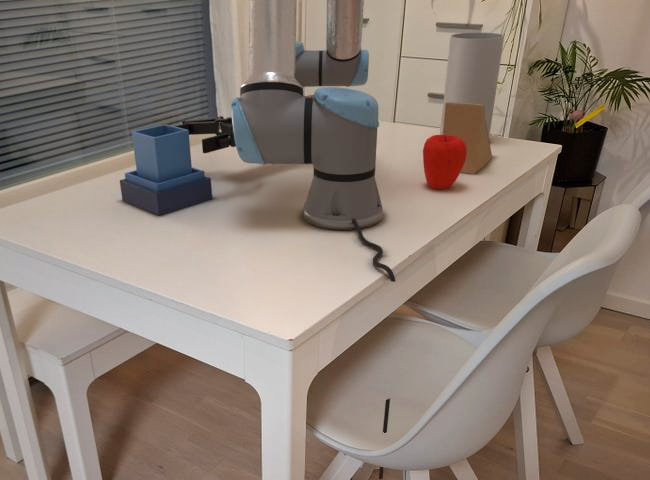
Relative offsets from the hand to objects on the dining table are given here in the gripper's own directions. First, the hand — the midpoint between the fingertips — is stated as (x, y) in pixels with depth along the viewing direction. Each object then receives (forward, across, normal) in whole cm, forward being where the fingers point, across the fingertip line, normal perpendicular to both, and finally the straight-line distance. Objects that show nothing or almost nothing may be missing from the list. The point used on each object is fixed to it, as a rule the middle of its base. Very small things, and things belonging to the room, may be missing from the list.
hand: (182, 140), depth 141 cm
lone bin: (+5, 0, -10) cm, 11 cm away
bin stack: (+5, 0, -11) cm, 13 cm away
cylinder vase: (-76, -21, -12) cm, 79 cm away
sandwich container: (-59, -32, -12) cm, 68 cm away
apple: (-40, -38, -12) cm, 56 cm away
